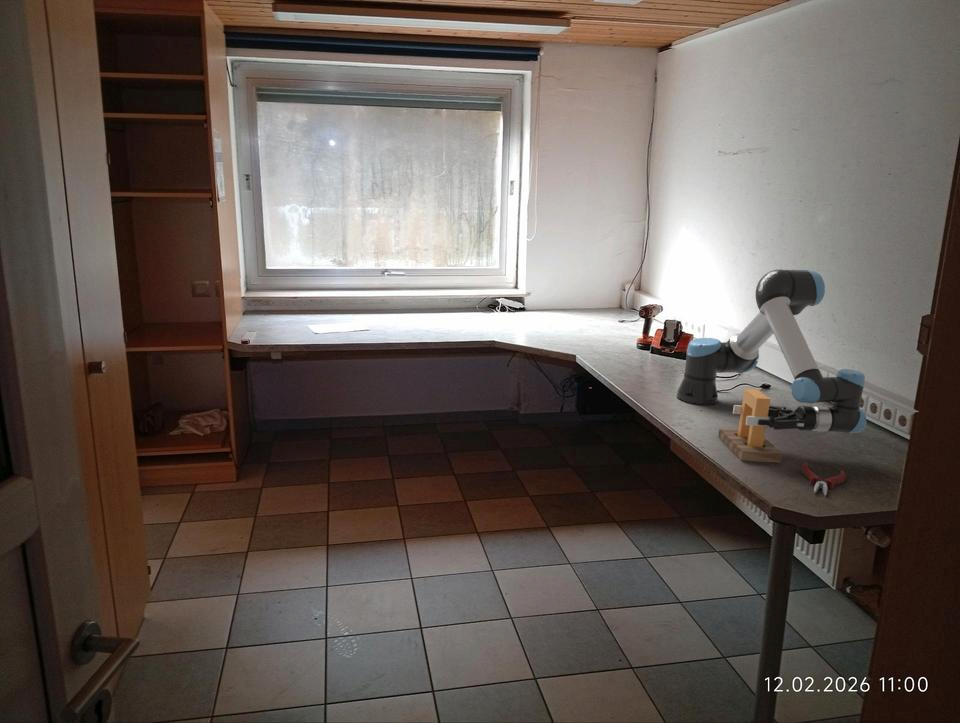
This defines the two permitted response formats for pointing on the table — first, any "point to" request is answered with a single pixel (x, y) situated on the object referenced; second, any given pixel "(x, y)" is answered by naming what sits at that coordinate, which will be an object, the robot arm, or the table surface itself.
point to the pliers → (826, 482)
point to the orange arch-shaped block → (753, 406)
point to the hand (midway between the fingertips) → (740, 414)
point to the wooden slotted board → (749, 453)
